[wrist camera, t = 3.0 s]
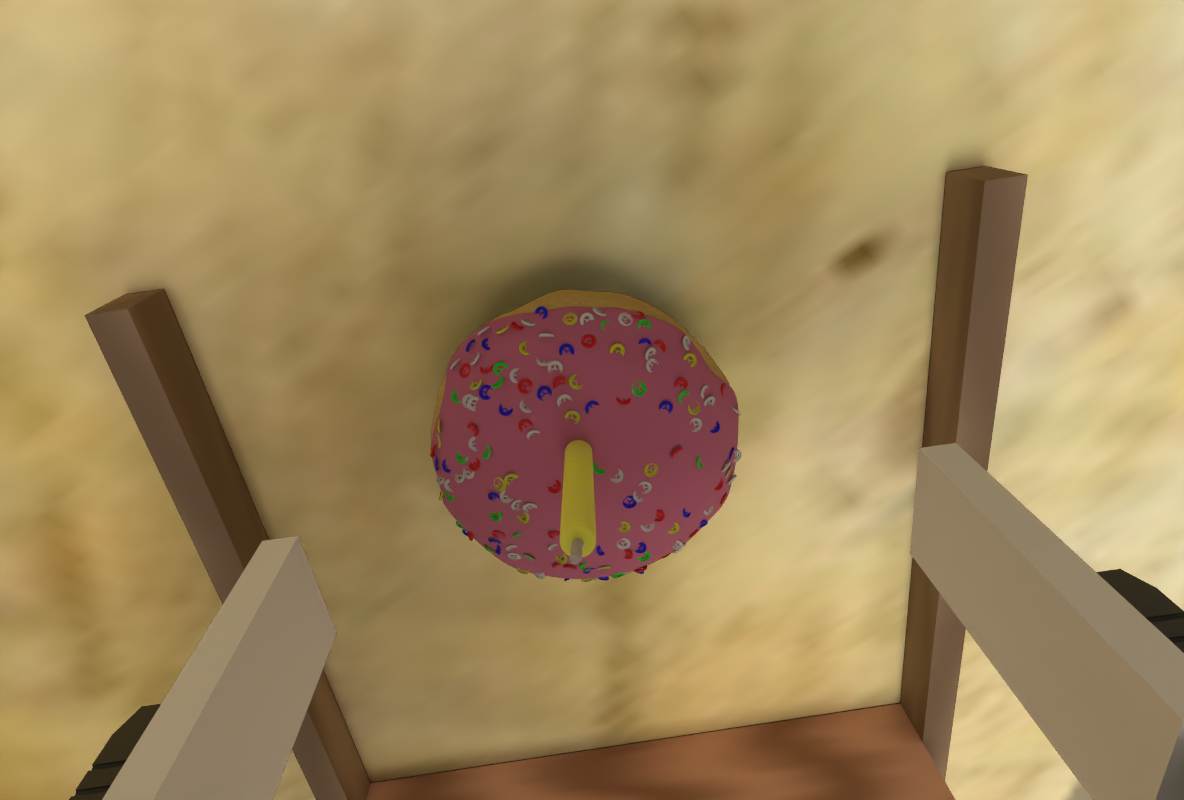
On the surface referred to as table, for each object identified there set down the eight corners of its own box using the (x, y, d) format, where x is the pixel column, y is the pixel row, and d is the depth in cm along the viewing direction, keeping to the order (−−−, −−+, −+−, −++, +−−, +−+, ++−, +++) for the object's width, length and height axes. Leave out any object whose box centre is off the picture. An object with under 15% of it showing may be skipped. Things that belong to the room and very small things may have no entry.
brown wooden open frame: (362, 829, 32) (332, 952, 27) (124, 294, 21) (8, 355, 16) (921, 744, 32) (983, 854, 28) (985, 166, 21) (1108, 191, 16)
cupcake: (406, 302, 21) (268, 533, 11) (666, 213, 21) (800, 363, 10) (506, 516, 25) (478, 849, 14) (729, 446, 24) (878, 740, 14)
